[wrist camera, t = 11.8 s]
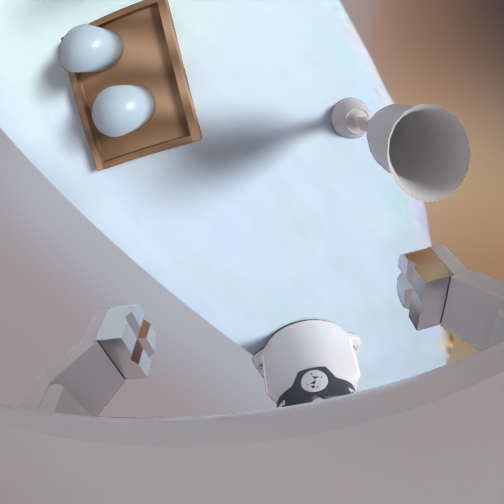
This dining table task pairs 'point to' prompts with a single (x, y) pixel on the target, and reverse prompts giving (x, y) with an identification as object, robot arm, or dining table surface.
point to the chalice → (410, 144)
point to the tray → (143, 73)
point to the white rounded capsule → (90, 49)
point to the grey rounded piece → (123, 109)
